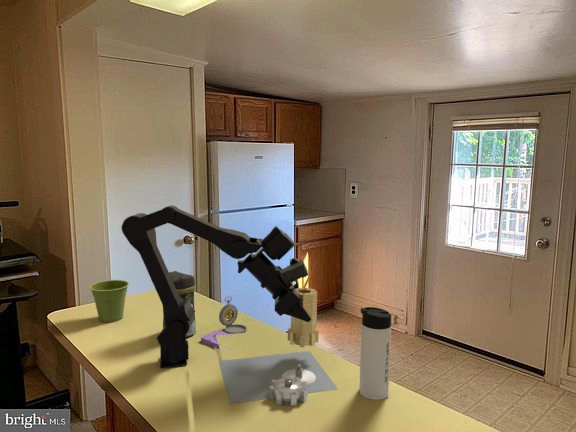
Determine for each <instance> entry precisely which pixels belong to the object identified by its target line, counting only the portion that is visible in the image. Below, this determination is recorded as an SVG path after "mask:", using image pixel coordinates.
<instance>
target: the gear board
mask: <svg viewBox="0 0 576 432" xmlns="http://www.w3.org/2000/svg"><path fill="white" fill-rule="evenodd" d="M218 363H219V367H220V369H221V374H222V378H223V382H224V385H225V388H226V389H225V390H226V393H227V396H228V400H229V404H230V405H233V404H239V403H247V402H254V401H261V400H262V401H263V400H267V399H270V398H269V386H271V381H272V380H273V379H275V380H278V379H281V376H287V378H294V377H299V378H300V381H302V382H306V383H307V384H308V385H307V394H312V393H319V392H328V391H334V390H338V389H339V388H338V387H337V385H336V384H335V383H334V381H333V380H332V379H331V377H330V376H329V375H328V374H327V372H326V371H325V370H324V368H323V367H322V365H321V364H320V363H319V361H318V360H317V359H316V357H315V356H314V354H313V353H312V352H311V351H310V350H307V351H305V350H304V351H298V352H297V351H296V352H287V353H281V354H280V353H278V354H268V355H260V356H254V357H253V356H251V357H241V358H233V359H225V360H219V361H218Z"/></svg>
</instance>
